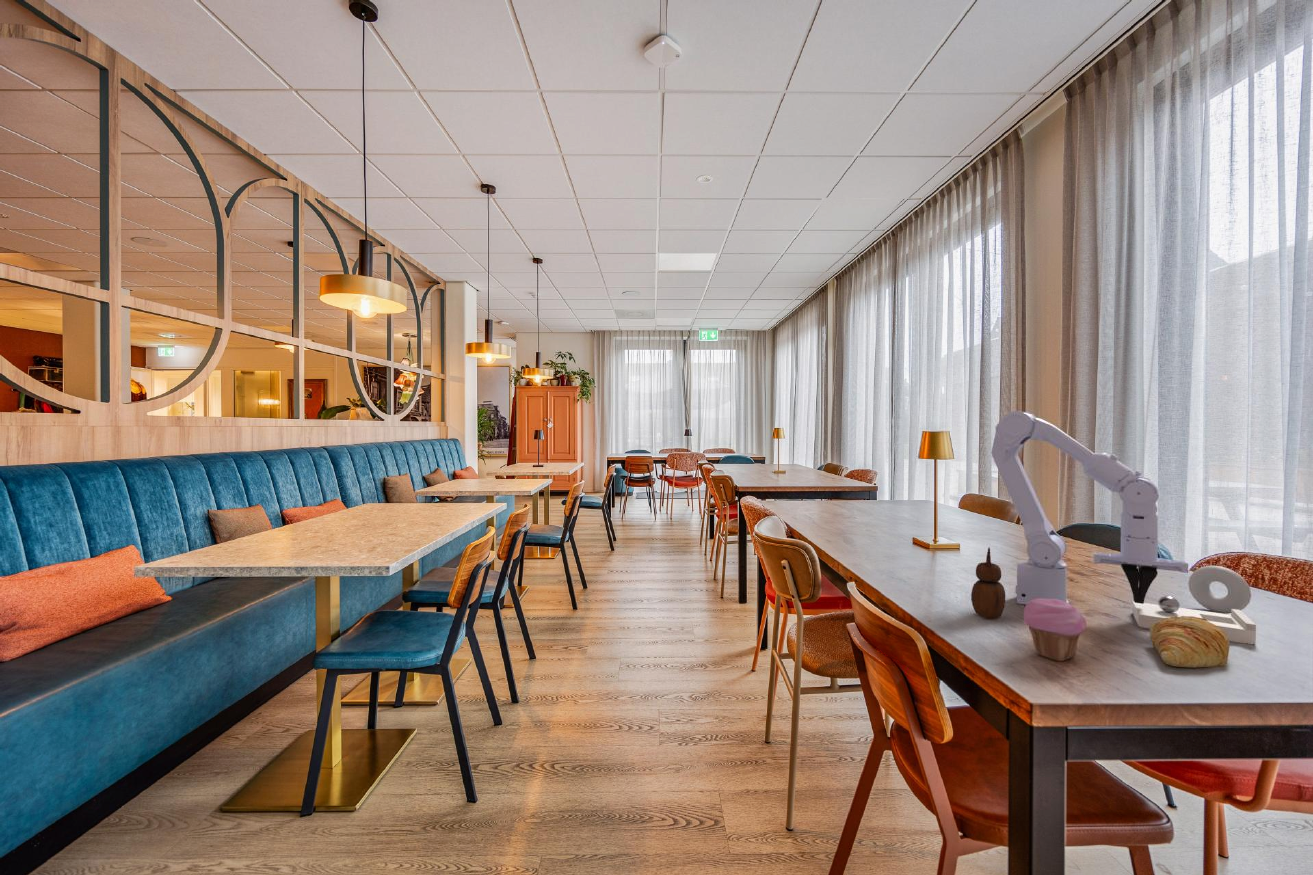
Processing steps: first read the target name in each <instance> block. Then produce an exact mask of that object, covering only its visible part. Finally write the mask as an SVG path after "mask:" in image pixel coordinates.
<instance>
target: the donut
mask: <svg viewBox="0 0 1313 875" xmlns="http://www.w3.org/2000/svg"><path fill="white" fill-rule="evenodd" d="M1215 582H1219V583H1221V584H1222V585H1224V586H1225V587H1226V589H1227V594H1226V595H1225V596H1223V597H1221V596H1217V595H1215V594H1214V593H1213V592H1212V590H1211V588H1210V587H1211V584H1212V583H1215ZM1187 583H1188V584H1187V585H1188V589H1189V592H1190V594H1191V596H1192V598H1193V599H1194V600H1195V601H1196V602H1197V603H1198V604H1199V605H1201V606H1202V607H1204V608H1206V609H1207V610H1209V611H1211V612H1214V613H1222V614H1229V615H1230V614H1231V609H1237V610H1241V611H1242V610H1244V609H1246V608H1247V607H1248V605H1249V604H1250V602H1251V598H1252V593H1251V588H1250V585H1249V584H1248V583H1247V580H1246V579H1244V578H1243V577H1242V575H1240V574H1239V573H1238V572H1236V571H1234V570H1232V569H1231V568H1227V567H1224V566H1221V565H1206V566H1201V567H1199V568H1197V569H1196V570H1194V571H1193V572H1192V573H1191V574H1190V576H1189V578H1188V582H1187Z"/></svg>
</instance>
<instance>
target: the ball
mask: <svg viewBox="0 0 1313 875" xmlns="http://www.w3.org/2000/svg"><path fill="white" fill-rule="evenodd" d="M1157 605H1159V607H1160V608H1161V609H1162V610H1163V611H1165V612H1169V613H1173V612H1176V611H1178V610H1179V608H1181V606H1180V602H1179V601H1178V600H1177V599H1176V598H1175V597H1173V596H1169V595H1165V596H1161V597H1160V598H1159V599H1158V601H1157Z"/></svg>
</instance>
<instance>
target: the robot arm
mask: <svg viewBox="0 0 1313 875" xmlns="http://www.w3.org/2000/svg"><path fill="white" fill-rule="evenodd" d="M994 432H995V433H994V439H993V444H992V447H991V457H992V458H993V462H994V463H995V466H996V468H997V470H998V473H999V474H1000V477H1001V480H1002V481H1003V483H1004V486H1005V489H1007V490H1006V491H1007V492H1008V495H1009V496H1010V499H1011V502H1012V504H1013V506H1014V508H1015V511H1016V512H1017V516H1018V517H1019V519H1020V522H1021V524H1022V526H1023V533H1024V534H1023V535H1024V537H1025V540H1026V543H1027V546H1026V553H1027V555H1028V556H1027V557H1028V559H1027V561H1025V562H1024V561H1017V564H1016V585H1015V594H1016V604H1019V605H1025V606H1026V605H1027V603H1028V602H1029V601H1031V600H1033V599H1038V598H1044V599H1058V600H1062V601H1065V602H1067V603H1069V600H1068V599H1067V598H1068V596H1067V595H1068V593H1067V591H1068V590H1067V586H1068V585H1067V584H1068V583H1067V582H1068V581H1067V579H1068V578H1067V576H1068V574H1067V573H1068V572H1067V569H1068V567H1067V566H1068V565H1067V563H1065V562H1064V560H1063V558H1062V557H1064V556H1065V554H1067V549H1068V547H1067V543H1066V541H1065V539H1064V538H1063V537H1062V536H1061V535H1059V534H1058V533H1057V532H1056V530H1055V528H1054V527H1053V526H1054V525H1052V523H1051V522H1050V521H1049V519H1048V518H1047V516H1046V513H1045V511H1044V509H1043V507H1042V504H1041V503H1040V501H1039V499H1038V496H1037V494H1036V492H1035V489H1034V487H1033V485H1032V483H1031V480H1030V478H1029V477H1028V474H1027V472H1026V470H1025V467H1024V466H1023V464H1022V461H1021V459H1020V457H1019V454H1020V452H1021V450H1022V448H1023V447H1024V445H1025V443H1026V442H1028V440H1035V441H1041V442H1046V443H1048V444H1050V445H1051V446H1053V447H1055V448H1057V449H1058V450H1060V451H1061V452H1063V453H1064V454H1066V455H1067V456H1069V457H1071V458H1072V459H1074V460H1076V461H1077V462H1079V463H1080V464H1082V470H1083V471H1082V472H1083V473H1084V474H1085V475H1087V476H1088V477H1090V478H1091V479H1093V480H1094V481H1096V482H1097V483H1098V484H1100V485H1101V486H1103V487H1104V488H1105V489H1106V490H1108V491H1110V492H1112V493H1117V494H1119V497H1120V499H1121V501H1122V512H1121V513H1120V553H1107V552H1105V553H1104V552H1103V553H1102V552H1093V564H1105V565H1116V566H1120V567H1121V569H1122V570H1123V572H1124V574H1125V577H1126V579H1127V581H1128V583H1129V587H1130V588H1131V593H1132V596H1133V602H1135V603H1141V604H1144V603H1145V599H1146V596H1147V593H1148V590H1149V588H1150V587H1151V585H1152V583H1153V581H1155V579H1156V578H1157V576H1158V570H1163V571H1172V572H1180V573H1185V574H1188V573H1189V563H1188V562H1187V561H1185V560H1183V561H1182V560H1175V559H1167V558H1163V557H1162V558H1160V557H1158V556H1159V555H1158V553H1159V552H1158V551H1159V550H1158V547H1159V544H1158V542H1159V541H1158V538H1159V537H1158V536H1159V533H1158V532H1159V522H1158V521H1159V516H1158V514H1157V513H1158V506H1157V501H1158V499H1159V496H1160V495H1159V489H1158V487H1157V485H1156V484H1155V483H1154V482H1153V481H1152V480H1151V479H1150V478H1148V477H1144V476H1141V475H1142V474H1143V473H1142V472H1140V471H1139V470H1136V471H1134V470H1133V469H1131V468H1130V467H1129V466H1127V465H1125V464H1124V463H1123V462H1120V461H1119V456H1117V455H1115V454H1113V453H1112V454H1108V453H1107V452H1095V453H1094V452H1093V451H1091V450H1090V449H1088V448H1087V447H1086V446H1084V445H1083V444H1081V443H1080V442H1079V441H1077V440H1076V439H1074V438H1073V437H1071V436H1070V435H1069V434H1067V433H1066V432H1064V431H1063V430H1062V429H1060V428H1058V427H1057V426H1056V425H1054V424H1052V423H1050V422H1049V421H1046V420H1044V419H1043V418H1040V417H1037V416H1035V414H1033V413H1031V412H1027V411H1020V410H1013V411H1010V412H1007V413H1006V414H1004V415H1003V416H1002V417H1001V419H1000V420H999V421H998V423H997V424H996V426H995V431H994ZM1069 604H1070V603H1069Z"/></svg>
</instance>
